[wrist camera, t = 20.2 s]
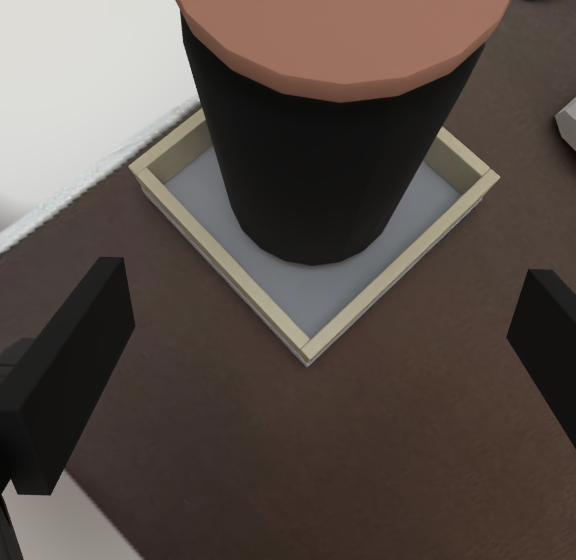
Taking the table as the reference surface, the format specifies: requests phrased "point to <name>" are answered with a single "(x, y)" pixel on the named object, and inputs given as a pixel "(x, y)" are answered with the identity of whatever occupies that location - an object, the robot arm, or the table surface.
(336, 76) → the coffee jar
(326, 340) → the shallow square crate
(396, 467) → the table surface
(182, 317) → the table surface
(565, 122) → the crystal
